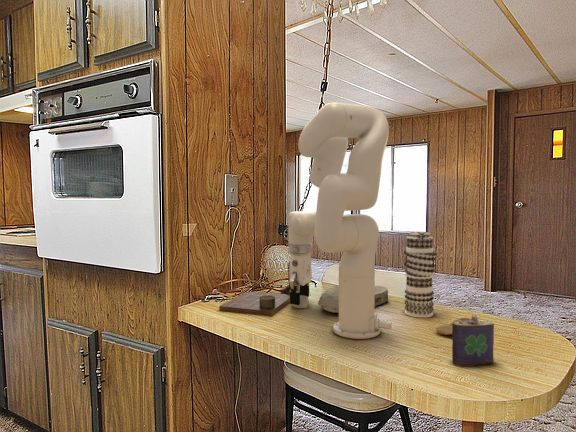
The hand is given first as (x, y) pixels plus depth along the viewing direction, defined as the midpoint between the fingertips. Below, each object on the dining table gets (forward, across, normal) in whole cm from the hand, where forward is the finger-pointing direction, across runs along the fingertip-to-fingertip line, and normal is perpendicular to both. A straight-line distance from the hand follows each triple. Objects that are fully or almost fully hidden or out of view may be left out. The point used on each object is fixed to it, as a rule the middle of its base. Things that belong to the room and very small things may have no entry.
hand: (299, 300), depth 136 cm
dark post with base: (+2, +17, +8) cm, 19 cm away
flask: (+1, -30, -50) cm, 59 cm away
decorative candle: (+2, +4, -37) cm, 38 cm away
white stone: (+2, 0, 0) cm, 2 cm away
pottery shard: (+1, -11, -48) cm, 50 cm away
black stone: (0, -9, +8) cm, 12 cm away
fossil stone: (+2, +6, -16) cm, 17 cm away
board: (+2, -3, +14) cm, 14 cm away
